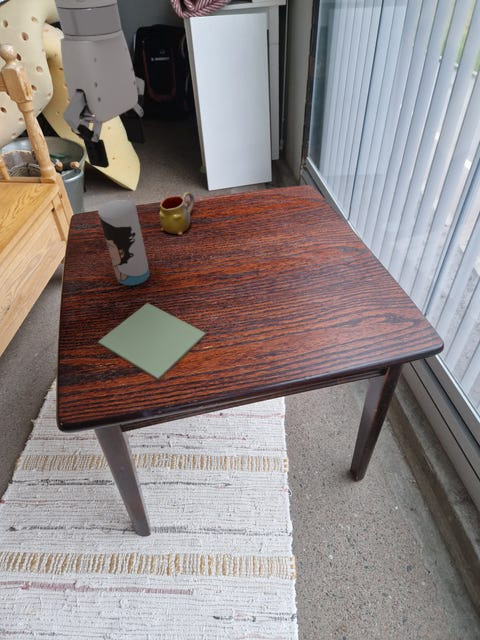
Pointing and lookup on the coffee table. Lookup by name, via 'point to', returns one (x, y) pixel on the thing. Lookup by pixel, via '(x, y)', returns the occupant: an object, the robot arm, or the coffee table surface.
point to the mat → (152, 340)
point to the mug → (176, 213)
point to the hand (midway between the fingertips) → (119, 153)
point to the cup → (124, 241)
